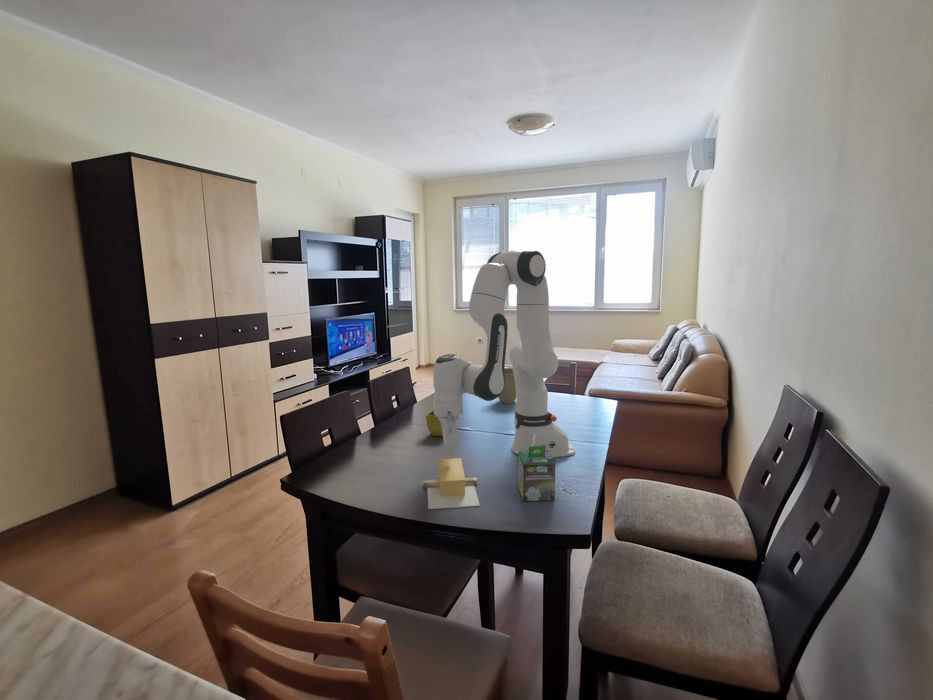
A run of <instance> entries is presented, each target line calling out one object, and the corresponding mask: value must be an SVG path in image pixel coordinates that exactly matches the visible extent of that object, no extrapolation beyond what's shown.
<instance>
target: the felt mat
mask: <svg viewBox="0 0 933 700" xmlns="http://www.w3.org/2000/svg"><path fill="white" fill-rule="evenodd" d="M475 486H476V485H465V495H452V496H441V494H440V487H430V488H426V489H427V508H428V510H436V509H437V510H438V509H440V510H441V509H454V508H455V509H456V508H457V509H459V508H471V507H473V508H474V507H480V506H481V505H480V504H481V503H480V502H479V497H478V495H477V490H476V487H475Z"/></svg>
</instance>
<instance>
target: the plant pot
mask: <svg viewBox="0 0 933 700" xmlns="http://www.w3.org/2000/svg"><path fill="white" fill-rule="evenodd" d="M504 372H505V387H504V390H503V392H502V393H501V394H500V395H499V396H498V397H497V399H498V401H499V403H501V404H507V405H509V404H513V403H516V402H515V401H516V385H515V379H514V374H513V367H512V368H511V367H509V368H508V367H506V368H505V367H504Z"/></svg>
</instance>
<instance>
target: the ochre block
mask: <svg viewBox="0 0 933 700" xmlns="http://www.w3.org/2000/svg"><path fill="white" fill-rule="evenodd" d="M464 471H465V470H464V466H463V461H462V458H461V457H455V458H442V459H441V458H440V459H437V475H438V479H439V485H440V494H441V496H452V495H465V486H466V485H465V478H466V477H465V472H464Z"/></svg>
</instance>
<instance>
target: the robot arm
mask: <svg viewBox="0 0 933 700" xmlns="http://www.w3.org/2000/svg"><path fill="white" fill-rule="evenodd" d="M546 265H547V263H546V260H545V257H544V256H543V254H542V253H541V252H540V251H538V250H536V249H531V248H527V249H513V250H508V251H504V252H497V253H495V254H493V255H491V256H490V257H489V258H488V260H487V262H486V263H485V264H483V265H481V267H480V269H478V272H477V275H476V277H475V280H474V283H473V286H472V290H471V294H470V299H469V303H468V312H469V315H470V317H471V319H472V320H473V321H474V322H475V323H476V325H478V326H479V327H481V328H482V329H483V330H484V332H485V334H486V338H487V339H486V341H487V342H486V349H485V359H484V364H483V365H482V364H478V363H476V362H475V363H474V362H471V361H468V360H465V359H463V358H462V357H460V355H459V354H455V353H450V354H444V355H441V356H439V357H438V358H436V360H435V361H434V365H433V373H432V374H433V376H432V377H433V378H432V381H433V382H432V384H433V385H432V386H433V388H434V395H433V409H434V414H435V415H436V416H438V419H439V420H440V422H441V427H442V434H443V436H442V441H443V445H444V448H446V459H453V456H454V448H457V447H458V446H457V445H458V439H457V438H458V437H457V435H458V433H457V432H458V429H457V422H456V421H457V420H459V419H460V418H459V416H461V415H463V409H464V408H463V404H464V403H463V394H469V395H472V396H476V397H478V398H479V399H481V400H483V401H487V402H491V401H494V400H496V399H498V396H499V395H500V394H501V393H502V392H503V390H504V387H505V372H504V368H505V367H506V366H505V365H506V364H505V363H506V356H507V355H506V353H507V344H508V342H507V341H508V328H509V326H508V321H507V318H506V317H505V306H506V305H505V304H506V301H507V300H506V299H507V295H508V288H509V286H510V285H515V288H516V290H517V291H516V292H517V293H516V328H517V330H518V334H519V337H520V341H519V342H516V343H514V344H513V345H512V346H511V348H510V350H509V353H508V354H509V356H508V357H509V360H510V362H511V367H512V368H513V374H514V379H515V385H516V399H515V401H516V402H515V403H516V404H515V405H516V406H515V412H514V427H515V428H514V436H513V441H512V445H511V451H512V452H513V453H514V454H516V455H518V453H519V452H522V451H529V447H532V446H545V450H548V451H549V453H550V454H551V456H552V458H553V459H555V458H560V457H568V456H573V455H575V454H576V451H575V447H574V445H572V444H571V443H570V442H569V439H568V436H567V433H566V432H565V431H564V429H562V428H561V427H560V426H558V425H557V424H556V423H554V422H556V421H557V419H558V418H557V416H556V415H554V414H553V413H551V412H549V411H548V400H549V399H548V397H549V396H548V394H549V393H548V388H547V387H546V384H545V380H544V379H548V378H550V377H552V376H553V375H554V374H555V373H556V372H557V370H558V369H559V358H558V356H557V354H556V353H555V349H554V346H553V340H552V336H551V331H550V330H551V329H550V315H549V314H550V310H549V309H550V304H549V303H550V302H549V301H550V297H549V286H548V282H547V277H546V275H545V274H546ZM534 451H537V450H534Z"/></svg>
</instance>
